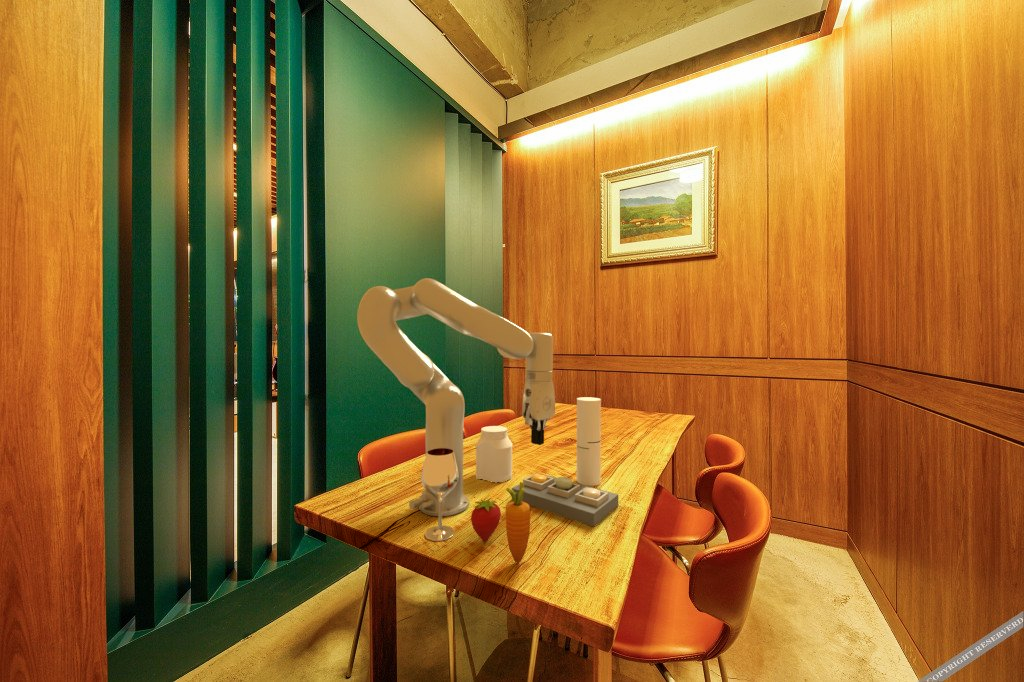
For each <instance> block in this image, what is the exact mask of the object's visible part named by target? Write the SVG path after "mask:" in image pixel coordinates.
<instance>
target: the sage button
mask: <svg viewBox="0 0 1024 682" xmlns="http://www.w3.org/2000/svg"><path fill="white" fill-rule="evenodd" d="M555 478H556V487H558V488H561V489H569V488H571V487H572V482H573V479H572V478H570V477H568V476H560V477H555Z"/></svg>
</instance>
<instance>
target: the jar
mask: <svg viewBox="0 0 1024 682" xmlns="http://www.w3.org/2000/svg"><path fill="white" fill-rule="evenodd" d="M480 432H481V433H480V438H479V439H478V440H477V442H476V443H475V457H476V458H475V478H476V480H477V479H483V480H482V481H484V480H488V481H487V482H489V481H492V482H495V483H494V484H498V483H497V482H502V483H505V482H504V481H506V482H508V481H510V480H512V478H513V442H512V441H511V440H510V438H509V436H508V428H507V427H505V426H501V425H489V426H484V427H481V430H480ZM509 479H510V480H509ZM507 480H508V481H507ZM492 482H491V483H492Z"/></svg>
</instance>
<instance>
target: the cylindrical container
mask: <svg viewBox="0 0 1024 682" xmlns="http://www.w3.org/2000/svg"><path fill="white" fill-rule="evenodd" d="M601 403H602V399H601V398H598V397H590V396H589V397H587V396H584V397H583V396H582V397H577V398H576V483H577V484H581V485H585V486H588V487H593V486H598V485H600V484H601V483H602V482H601V478H602V476H601V475H602V473H601V472H602V469H601V466H602V465H601V459H602V452H601V450H602V447H601V444H602V443H601V441H602V439H601V438H602V436H601V434H602V433H601V432H602V430H601V427H602V425H601V424H602V423H601V421H602V420H601V418H602V417H601V416H602V414H601V413H602V410H601V409H602V408H601V407H602V404H601Z"/></svg>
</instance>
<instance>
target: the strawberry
mask: <svg viewBox="0 0 1024 682" xmlns="http://www.w3.org/2000/svg"><path fill="white" fill-rule="evenodd" d="M489 496H490V495H489V494H488V495H487V496H486V497H485V498H484V500H482V499H481V500H480V501H474V503H476V504H478V505H475V506H474V509H473V510H472V512H471V516H470V521H471V525H472V528H473V530H474V532H475V533H476V535H477V536H478V537H479V538H480V539H481V541H482V542H483V543H487V542H488V541H489V540H490V538H491V536H492V535H493V534H494V533H495V530H496V529H497V528H498V526H499V524H500V520H501V516H502V511H501V508H500V506H499V505H498V504H496V503H497V501H496V500H495V501H493V500H491V498H488V497H489ZM487 498H488V499H487ZM486 499H487V500H486Z"/></svg>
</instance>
